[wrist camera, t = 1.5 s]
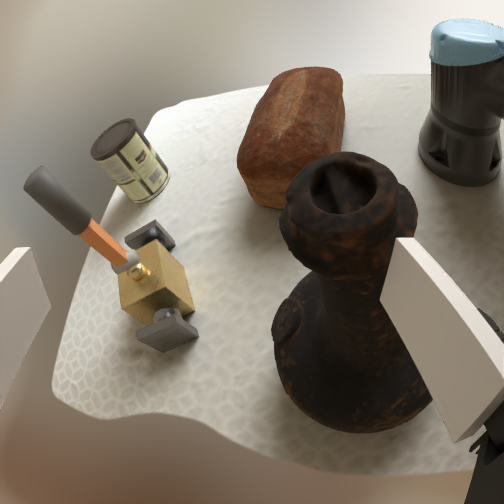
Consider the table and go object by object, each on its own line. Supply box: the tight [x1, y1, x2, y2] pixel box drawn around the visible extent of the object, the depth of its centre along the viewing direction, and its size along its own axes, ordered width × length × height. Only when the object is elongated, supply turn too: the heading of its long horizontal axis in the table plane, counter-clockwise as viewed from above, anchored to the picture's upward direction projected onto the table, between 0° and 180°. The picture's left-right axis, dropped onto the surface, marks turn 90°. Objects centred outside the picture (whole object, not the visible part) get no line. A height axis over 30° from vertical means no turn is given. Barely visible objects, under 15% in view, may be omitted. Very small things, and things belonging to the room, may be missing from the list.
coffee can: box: [90, 118, 170, 203], centre depth 58 cm, size 10×10×14 cm
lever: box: [24, 166, 140, 274], centre depth 32 cm, size 3×3×18 cm
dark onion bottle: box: [271, 152, 433, 433], centre depth 23 cm, size 18×18×28 cm
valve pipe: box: [118, 220, 199, 352], centre depth 44 cm, size 18×7×9 cm, turn 19°
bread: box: [237, 67, 345, 209], centre depth 49 cm, size 14×28×12 cm, turn 162°
